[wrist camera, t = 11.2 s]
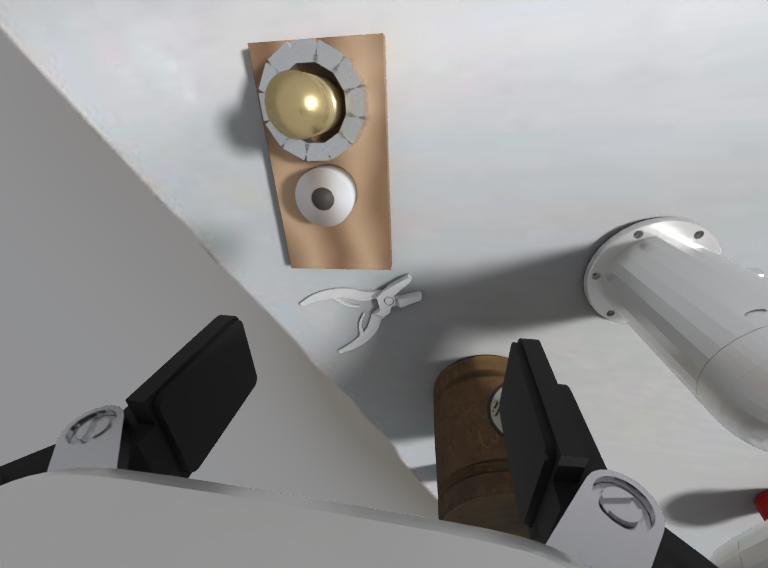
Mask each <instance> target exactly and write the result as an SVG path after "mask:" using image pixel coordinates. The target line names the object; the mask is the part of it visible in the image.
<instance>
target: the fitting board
mask: <svg viewBox="0 0 768 568" xmlns="http://www.w3.org/2000/svg"><path fill="white" fill-rule="evenodd" d="M313 39H317V40H321V41H323V42H324V43H326V44H328V45H329V46H331V47H333V48H334V49H336V50H337V51H339V52H341V53H342V54H344V55H346V56H347V57H349V58H350V59H351V60H352V61H353V62H354V63H355V65H356V67H357V68H358V70H359V72H360V74H361V76H362V77H363V79H364V81H365V83H366V85H367V86H366V87H364V88H365V89H368V97H369V115H370V116H365V117H366V118H368V119H369V120H368V122H367V124H366V127H365V129H364V131H363V133H362V136H361V138H360V140H359V141H358V142H357V144H355V145H354V146H352V147H351V148H350V149H348V150H347V151H345V152H344V153H342V154H341V155H339V156H338V157H336V158H334V159H331V160H328V161H307V159H306V160H303V159H301V158H299V157H297V156H296V155H294V154H292V153H290V152H289V151H287V150H285V149H283V148H284V145H283V146H280V145H279V143H278V142H277V140H276V139H275V137H274V136H273V135H272V133H271V132H270V130H269V129H268V127H267V126H266V125H265V124H266V123H268V122H269V121H270V120H268V121H264V119H263V114H262V109H261V114H262V119H263V124H264V129H265V134H266V139H267V144H268V150H269V155H270V160H271V165H272V170H273V175H274V180H275V185H276V191H277V196H278V201H279V206H280V211H281V216H282V221H283V226H284V232H285V237H286V242H287V247H288V252H289V257H290V262H291V268H315V269H376V270H391V266H392V251H391V219H390V186H389V154H388V122H387V90H386V57H385V36H384V34H383V33H381V34H367V35H353V36H340V37H326V38H313ZM299 40H302V39H299ZM286 42H288V43H290V40H285V41H272V42H258V43H248V47H249V52H250V57H251V62H252V67H253V73H254V78H255V83H256V88H257V93H258V98H259V93H264V92H263V91H261V90H259V86H260V82H261V78H262V75H263V71H264V67H265V63H269V64H270V62H269V61H268V59H269V58H270V57H271V56H272V55H273V54H274V53H275V52H276V51H277V50H278V49H279V48H280V47H282V46H283V45H284V44H285V43H286ZM303 72H305V73H309V74H313V75H317V76H321V77H325V78H328V79H331V80H333V81H334V82H335V83H337V84H338V85H339V86H340V88H341V89H342V91H343V93H344V95H345V92H344V90H343V88H342V87H341V85H340V83H339V82H338V80H337V78H336V77H335V75H334V73H333V72H331V71H330V70H328V69H326V68H325V67H323V66H314V67H307V68H306V69H305V70H304V71H303ZM259 103H260V99H259ZM260 108H261V104H260ZM344 119H345V118H344ZM343 121H344V120H343ZM342 124H343V122H342V123H341V125H340V126H339V127H337V128H336V129H334V130H331V131H328V132H325V133H322V134H319V135H316V136H313V138H314V139H316V140H329V139H331V138H332V137H333V136H335V135H336V134H337V133H339V131H340V129H341V126H342Z"/></svg>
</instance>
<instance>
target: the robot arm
mask: <svg viewBox="0 0 768 568" xmlns="http://www.w3.org/2000/svg"><path fill="white" fill-rule="evenodd" d="M763 276H764V273H763V271H762V270H761V269H758V268H744V267H742V266H740V265H738V264H736V263H734V262H732V261H730V260H728V259H727V258H725V257H723V256H722V253H721V248H720V244H719V242H718V241H717V239H716V237H715V236H714V235H713V234H712V233H711V232H710V231H709V230H708V229H707V228H705V227H703V226H701V225H699V224H697V223H695V222H692V221H690V220H687V219H682V218H676V217H660V218H654V219H648V220H645V221H642V222H639V223H636V224H633V225H631V226H629V227H627V228H625V229H623V230H621V231H620V232H618V233H617V234H615V235H613V236H612V237H611V238H609V239H608V240H607V241H606V242H605V243H604V244H603V245H602V246H601V247H600V248H599V249H598V250H597V251H596V253H595V254H594V255H593V257H592V258H591V260H590V262H589V264H588V266H587V269H586V271H585V274H584V283H583V285H584V293H585V295H586V297H587V300H588V301H589V303H590V304H591V306H592V307H593V308H594V309H595V310H596V311H597V312H598V313H599V314H600V315H602V316H603V317H605V318H606V319H609V320H611V321H614V322H617V323H623V324H629V325H630V326H631V327H632V329H633V330H634V331H635V332H636V333H637V334H638V335H639V336H640V337H641V338H642V339H643V341H644V342H645V343H646V344H647V345H648V346H649V347H650V348H651V349H652V350H653V351H654V353H655V354H656V355H657V356H658V357H659V358H660V359H661V360H662V361H663V362H664V363H665V365H666V366H667V367H668V368H669V369H670V370H671V371H672V372H673V373H674V374H675V375H676V377H677V378H678V379H679V380H680V381H681V382H682V383H683V384H684V385H685V386H686V387H687V389H688V390H689V391H690V392H691V393H692V394H693V395H694V396H695V397H696V398H697V399H698V401H699V402H700V403H701V404H702V405H703V406H704V407H705V408H706V410H707V411H708V412H709V413H710V414H711V415H712V416H713V417H714V418H715V419H716V420H717V421H718V422H719V423H720V424H721V425H722V426H723V427H724V428H726V429H727V430H728V431H729V432H731V433H732V434H733V435H735V436H736V437H738V438H740V439H741V440H743V441H745V442H746V443H748V444H750V445H752V446H754V447H757V448H759V449H761V450H764V451H766V452H768V280H767V279H766V278H764V277H763ZM256 381H257V375H256V371H255V368H254V364H253V360H252V356H251V352H250V349H249V345H248V341H247V338H246V334H245V330H244V327H243V323H242V322H241V321H240V320H239V319H238V318H237V317H236V316H228V315H219V316H217V317H216V318H215V319H214V320H213V321H211V323H209V324H208V325H207V326H206V327H205V328H204V329H203V330H202V331H200V332H199V333H198V334H197V335H196V336H195V337H194V338H193V339H192V340H191V341H190V342H188V343H187V344H186V345H185V346H184V347H183V348H182V349H181V350H180V351H179V352H177V353H176V354H175V355H174V356H173V357H172V358H171V359H170V360H169V361H168V362H167V363H165V364H164V365H163V366H162V367H161V368H160V369H159V370H158V371H157V372H156V373H154V374H153V375H152V376H151V377H150V378H149V379H148V380H147V381H146V382H144V383H143V384H142V385H141V386H140V387H139V388H138V389H137V390H136V391H135V392H134V393H132V394H131V395H130V396H129V397H128V398H127V399H126V402H127V404H128V407H127V408H125V409H124V410H123V409H122V408H120V407H119V406H114V405H111V406H103V407H99V408H96V409H94V410H91V411H89V412H86V413H84V414H83V415H81V416H79V417H78V418H76V419H75V420H73V421H72V422H71V423H70V424H68V425H67V427H66V428H65V429H64V430H63V431H62V432H61V434H60V436H59V438H58V440H57V443H56V444H55V445H52V446H50V447H47V448H45V449H42V450H40V451H37V452H35V453H33V454H30V455H27V456H25V457H23V458H20V459H18V460H15V461H13V462H10V463H8V464H6V465H3V466H0V568H768V520H766V521H764V522H762V523H760V524H758V525H756V526H754V527H753V528H751V529H749V530H747V531H745V532H743V533H742V534H740V535H738V536H736V537H734V538H733V539H731V540H729V541H728V542H726V543H725V544H723V545H722V546H721V547H720V548H718V549H717V550H716V551H715V552H714V554H713V555H712V557H711V558H710V560H708V559H707V558H705V557H704V556H703V555H701V554H700V553H699V552H697V551H696V550H695V549H693V548H692V547H691V546H689V545H688V544H687V543H685V542H684V541H683V540H681V539H680V538H679V537H677V536H676V535H675V534H673V533H672V532H671V531H669V530H668V529H667V528H665V519H664V516H663V513H662V510H661V508H660V507H659V505H658V504H657V502H656V500H655V499H654V498H653V497H652V496H651V494H650V493H649V492H648V491H647V490H646V489H645V488H644V487H642V486H641V485H640V484H638V483H637V482H636V481H635V480H633V479H631V478H629V477H627V476H625V475H624V474H622V473H618V472H615V471H612V470H607V468H606V466H605V464H604V462H603V459H602V457H601V455H600V453H599V451H598V449H597V446H596V444H595V442H594V440H593V438H592V435H591V433H590V431H589V429H588V427H587V425H586V422H585V420H584V418H583V416H582V414H581V411H580V409H579V407H578V405H577V403H576V400H575V398H574V396H573V394H572V392H571V390H570V388H569V387H568V386H567V385H562V384H558V383H557V381H556V379H555V376H554V374H553V371H552V369H551V367H550V364H549V362H548V360H547V357H546V355H545V352H544V350H543V348H542V345H541V343H540V341H539V340H535V339H522V338H520V339H519V340H518V342H517V343H515V342H513V343H512V344H511V348H510V353H509V358H508V363H507V368H506V373H505V377H504V382H503V387H502V392H501V397H500V402H499V413H500V419H501V424H502V429H503V435H504V440H505V446H506V451H507V456H508V462H509V467H510V472H511V478H512V483H513V488H514V494H515V499H516V504H517V510H518V515H519V520H520V523H521V524H522V525H527V527H528V532H529V537H530V539H527V538H524V537H521V536H517V535H512V534H508V533H504V532H500V531H495V530H491V529H487V528H481V527H476V526H470V525H465V524H460V523H454V522H449V521H444V520H438V519H433V518H428V517H421V516H416V515H410V514H404V513H398V512H392V511H385V510H380V509H374V508H368V507H362V506H356V505H350V504H344V503H338V502H332V501H326V500H320V499H314V498H308V497H302V496H295V495H289V494H283V493H277V492H271V491H265V490H259V489H252V488H246V487H239V486H234V485H227V484H220V483H214V482H208V481H202V480H195V479H189V478H188V477H189V476H190V475H191V473H192V472H194V471H196V470H197V469H198V468H199V467H200V465H201V464H202V463H203V461H204V460H205V458H206V457H207V455H208V454H209V452H210V451H211V449H212V448H213V447H214V445H215V444H216V442H217V441H218V439H219V438H220V436H221V435H222V433H223V432H224V430H225V429H226V428H227V426H228V425H229V423H230V422H231V420H232V418H233V417H234V416H235V414H236V413H237V411H238V410H239V408H240V407H241V405H242V404H243V402H244V401H245V400H246V398H247V397H248V395H249V394H250V392H251V391H252V389H253V388H254V386H255V385H256ZM533 540H535V541H533ZM536 541H541V542H542V543H539V542H536Z"/></svg>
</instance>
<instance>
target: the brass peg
mask: <svg viewBox="0 0 768 568" xmlns="http://www.w3.org/2000/svg"><path fill="white" fill-rule="evenodd" d="M264 100H265V109H266V113H267V115H268V118H269V120H270V122H271V123H272V125H273V126H274V127H275V128H276V129H277V130H278V131H279V132H280V133H281V134H282V135H284V136H286V137H288V138H291V139H295V140H302V139H306V138H310V137H313V136H316V135H319V134H322V133H325V132H328V131H331V130H334V129H336V128H337V127H339V126H340V125H341V123H342V122H343V120H344V118H345V116H346V103H345V95H344V93H343V91H342V89H341V88H340V86H339V85H338V84H337V83H335V82H334V81H333V80H331V79H328V78H325V77H321V76H317V75H313V74H309V73H305V72H301V71H297V70H284V71H281V72H279V73H277V74H276V75H275V76H274V77H273V78H272V79H271V80H270V82H269V83H268V85H267V88H266V91H265V99H264Z"/></svg>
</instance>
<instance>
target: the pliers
mask: <svg viewBox="0 0 768 568" xmlns="http://www.w3.org/2000/svg"><path fill="white" fill-rule="evenodd" d="M411 281H412V276H411V275H410V274H409V273H408V274H406V275H404V276H403V277H401V278H399V279H397V280H395V281H394V282H392V283H390V284H388V285H387V286H386V288H385V289H384V290H380V289H379V290H374V291H364V290H359V289H355V288H349V287H338V288H331V289H326V290H322V291H319V292H317V293H314V294H312V295H310V296H309V297H307V298H306V299H304V300H303V301H302V302H301V303H300V305H301V306H305V305H307V304H310V303H313V302H316V301H320V300H324V299H330V298H331V299H334V300H336V301H338V302H339V303H341V304H343V305H345V306H349V307H357V308H359V307H360V305H359V304H351V303H347V302H345V301H343V300H342V299H341V297H344V298H350V299H355V300H359V301H367V300H372V299H377V301H378V304H379V308H378V309H376V310H375V311H374V312H373V313H372V315H371V318H370V321H369V324H368V326H367V328H366V329H365V330H363V327H362V320H363V318H364V316H365V314H366V313H365V312H364V313H363V315H362V316H361V319H360V322H359V331H360V335H359V336H358V337H357V338H356V339H355V340H353V341H352V342H350V343H349V344H347V345H346V346H344V347H342V348H340V349H339V350H338V352H339V353H344V352H348V351H351V350H353V349H355V348H358V347H359V346H361V345H363V344H364V343H365V342H367V341H368V340H369V339H370V338H371V337H372V336H373V335H374V334H375V333H376V331H377V330H378V328H379V326H380V322H381V319H382V318H384V317H385V316H386V315H387V314H389V313H390V311H391V307H393V306H399V307H400V308H402V307H404V306H407V305H410V304H412V303H415V302H417V301H420V300H422V293H421V291H418V292H413V293H408V294H402V295H396V294H397V293H398V292H399V291H400V290H402V289H403V288H404V287H405V286H406V285H408V284H409V283H410V282H411Z"/></svg>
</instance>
